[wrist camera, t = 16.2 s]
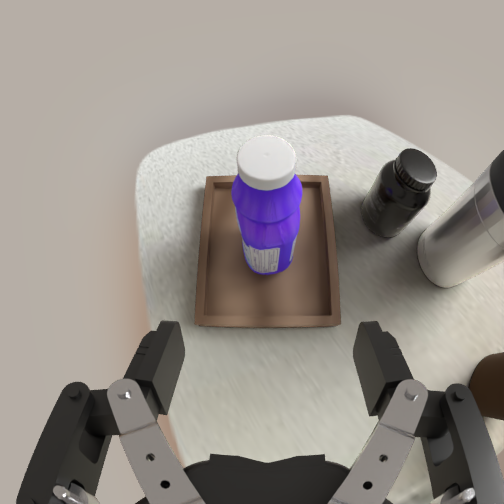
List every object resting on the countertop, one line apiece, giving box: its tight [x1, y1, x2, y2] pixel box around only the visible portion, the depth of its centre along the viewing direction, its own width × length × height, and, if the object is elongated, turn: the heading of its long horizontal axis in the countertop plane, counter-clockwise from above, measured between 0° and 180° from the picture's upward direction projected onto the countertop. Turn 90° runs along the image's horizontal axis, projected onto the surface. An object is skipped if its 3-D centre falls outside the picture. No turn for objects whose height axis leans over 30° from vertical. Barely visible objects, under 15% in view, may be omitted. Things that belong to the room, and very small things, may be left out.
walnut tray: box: [194, 175, 341, 328], centre depth 35 cm, size 16×19×2 cm
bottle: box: [231, 135, 302, 275], centre depth 27 cm, size 7×6×17 cm
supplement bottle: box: [361, 148, 437, 237], centre depth 31 cm, size 7×7×12 cm
